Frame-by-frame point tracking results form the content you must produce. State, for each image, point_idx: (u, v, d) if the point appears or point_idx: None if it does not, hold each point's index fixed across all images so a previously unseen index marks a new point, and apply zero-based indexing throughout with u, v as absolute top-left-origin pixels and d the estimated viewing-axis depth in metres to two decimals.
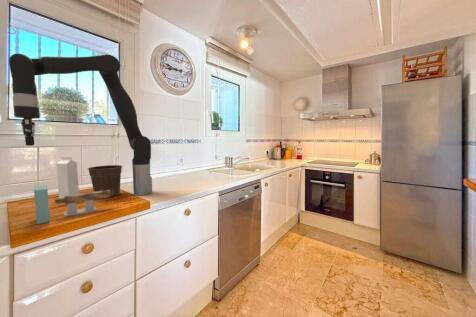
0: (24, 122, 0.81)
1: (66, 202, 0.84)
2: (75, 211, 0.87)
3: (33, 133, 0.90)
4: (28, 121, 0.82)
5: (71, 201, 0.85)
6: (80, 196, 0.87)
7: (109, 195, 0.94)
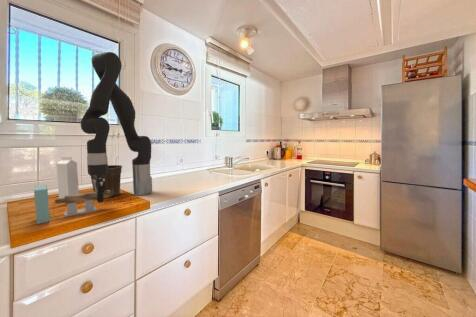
0: (99, 185, 0.87)
1: (66, 202, 0.84)
2: (75, 211, 0.87)
3: None
4: (102, 184, 0.88)
5: (71, 201, 0.85)
6: (80, 196, 0.87)
7: (109, 195, 0.94)
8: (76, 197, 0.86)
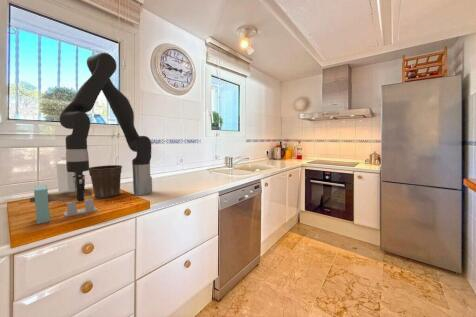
0: (78, 183, 0.82)
1: None
2: (75, 211, 0.87)
3: (82, 186, 0.89)
4: (82, 181, 0.83)
5: (48, 200, 0.80)
6: (58, 195, 0.82)
7: (90, 194, 0.89)
8: (53, 196, 0.81)
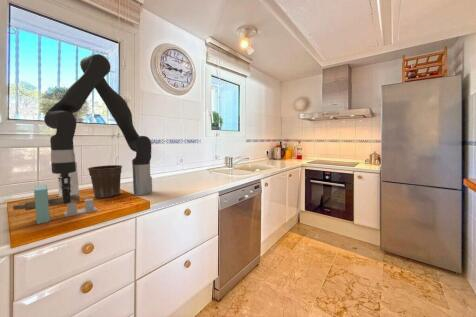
0: (63, 182, 0.79)
1: (26, 208, 0.76)
2: (75, 211, 0.87)
3: None
4: (67, 180, 0.80)
5: (32, 207, 0.77)
6: None
7: (78, 200, 0.87)
8: None
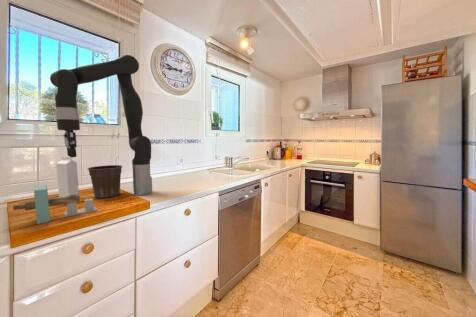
0: (69, 135, 0.84)
1: (26, 208, 0.76)
2: (75, 211, 0.87)
3: None
4: (72, 134, 0.85)
5: (32, 207, 0.77)
6: None
7: (78, 200, 0.87)
8: None
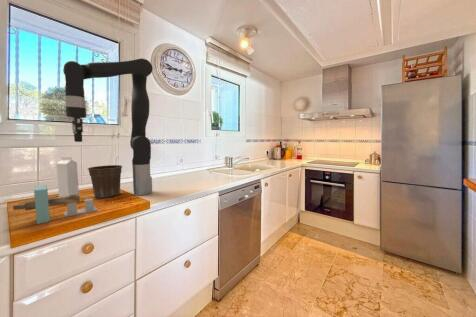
0: (76, 121, 0.92)
1: (26, 208, 0.76)
2: (75, 211, 0.87)
3: None
4: (79, 120, 0.93)
5: (32, 207, 0.77)
6: None
7: (78, 200, 0.87)
8: None
